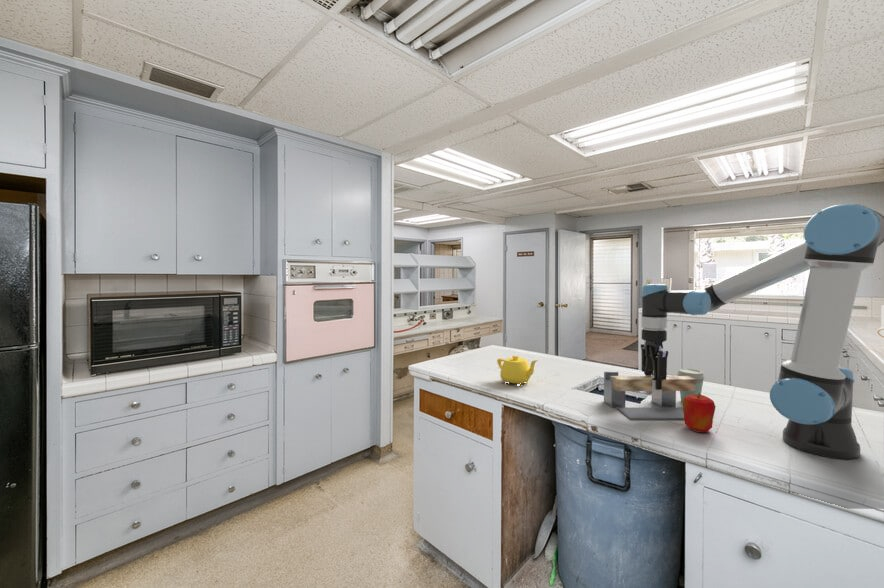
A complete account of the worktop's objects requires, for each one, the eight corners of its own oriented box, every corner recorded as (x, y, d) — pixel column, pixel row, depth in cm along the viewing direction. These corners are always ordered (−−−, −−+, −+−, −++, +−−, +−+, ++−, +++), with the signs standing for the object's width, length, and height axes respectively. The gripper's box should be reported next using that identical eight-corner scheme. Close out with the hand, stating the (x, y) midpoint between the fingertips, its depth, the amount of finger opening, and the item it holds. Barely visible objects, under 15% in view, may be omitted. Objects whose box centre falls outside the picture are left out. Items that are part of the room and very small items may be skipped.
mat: (703, 419, 123) (703, 418, 123) (630, 419, 124) (630, 418, 124) (685, 409, 133) (685, 407, 133) (617, 409, 134) (617, 407, 134)
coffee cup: (708, 407, 135) (709, 374, 134) (682, 405, 136) (683, 373, 136) (697, 399, 143) (698, 368, 142) (673, 398, 145) (673, 367, 144)
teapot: (532, 390, 157) (532, 361, 156) (490, 383, 169) (490, 356, 168) (544, 383, 167) (544, 356, 167) (504, 376, 179) (504, 351, 179)
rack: (675, 407, 134) (676, 376, 134) (611, 407, 135) (611, 376, 135) (664, 401, 141) (665, 371, 141) (603, 401, 142) (603, 371, 142)
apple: (685, 422, 121) (686, 386, 121) (717, 429, 115) (718, 392, 115) (678, 429, 115) (679, 392, 115) (711, 438, 109) (712, 398, 109)
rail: (687, 387, 129) (688, 376, 129) (695, 390, 125) (695, 379, 125) (612, 387, 130) (612, 376, 130) (617, 391, 126) (617, 379, 126)
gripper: (680, 332, 118) (679, 404, 119) (652, 325, 135) (651, 388, 136) (656, 332, 119) (655, 404, 120) (631, 325, 136) (630, 388, 137)
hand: (653, 395), depth 128 cm, fingers closed on rail, 4 cm apart
